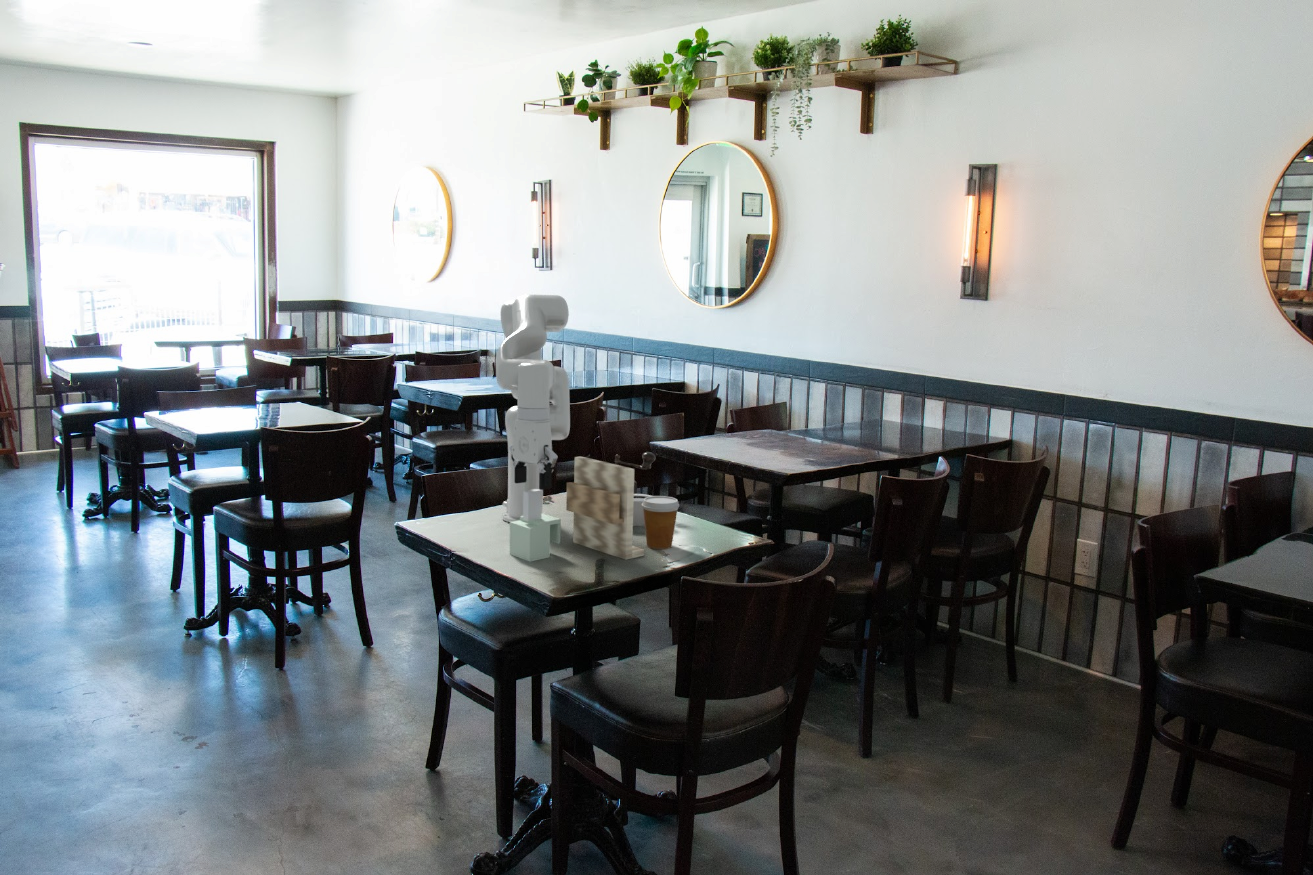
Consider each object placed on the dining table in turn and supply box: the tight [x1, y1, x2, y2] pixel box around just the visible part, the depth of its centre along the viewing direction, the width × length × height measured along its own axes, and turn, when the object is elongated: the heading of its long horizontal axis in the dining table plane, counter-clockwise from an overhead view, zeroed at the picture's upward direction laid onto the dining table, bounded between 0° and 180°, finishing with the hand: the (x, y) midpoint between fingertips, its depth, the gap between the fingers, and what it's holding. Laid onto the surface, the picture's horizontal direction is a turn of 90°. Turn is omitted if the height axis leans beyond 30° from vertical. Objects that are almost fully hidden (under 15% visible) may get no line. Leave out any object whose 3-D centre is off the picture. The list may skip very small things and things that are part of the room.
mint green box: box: [509, 489, 561, 562], centre depth 250 cm, size 8×9×16 cm
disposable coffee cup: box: [642, 495, 680, 550], centre depth 261 cm, size 10×10×12 cm
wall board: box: [566, 456, 645, 561], centre depth 255 cm, size 20×9×22 cm, turn 44°
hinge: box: [633, 493, 652, 527], centre depth 282 cm, size 17×5×10 cm, turn 98°
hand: (532, 485), depth 247 cm, fingers open, 9 cm apart
